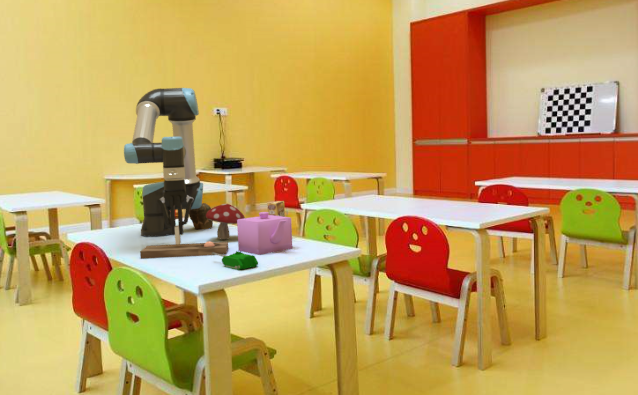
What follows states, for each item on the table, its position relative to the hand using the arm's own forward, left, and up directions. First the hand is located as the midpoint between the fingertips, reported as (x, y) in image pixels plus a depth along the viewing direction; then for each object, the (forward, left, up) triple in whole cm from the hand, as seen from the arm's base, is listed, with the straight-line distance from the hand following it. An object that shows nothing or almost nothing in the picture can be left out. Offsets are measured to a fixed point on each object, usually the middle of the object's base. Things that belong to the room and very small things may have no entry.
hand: (178, 243), depth 211 cm
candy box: (-21, +37, -4) cm, 42 cm away
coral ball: (0, +11, -2) cm, 11 cm away
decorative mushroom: (-26, +16, -4) cm, 30 cm away
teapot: (+1, +32, -4) cm, 33 cm away
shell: (-63, +2, -4) cm, 63 cm away
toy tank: (+25, +21, -4) cm, 33 cm away
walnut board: (0, +3, -4) cm, 5 cm away
